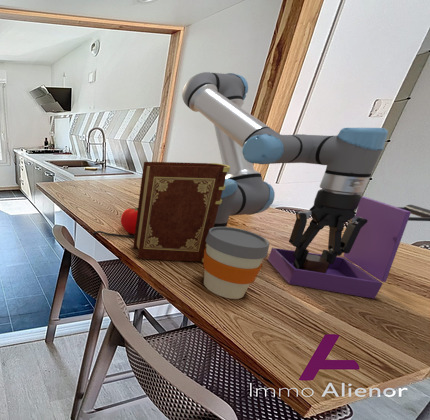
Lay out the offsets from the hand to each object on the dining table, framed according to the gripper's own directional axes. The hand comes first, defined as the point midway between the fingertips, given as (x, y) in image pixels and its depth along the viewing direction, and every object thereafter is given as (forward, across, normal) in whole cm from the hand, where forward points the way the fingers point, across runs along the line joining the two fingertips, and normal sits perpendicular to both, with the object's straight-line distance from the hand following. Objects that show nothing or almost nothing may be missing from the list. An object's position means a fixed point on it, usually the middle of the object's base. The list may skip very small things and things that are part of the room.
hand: (308, 270), depth 69 cm
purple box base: (+2, +2, 0) cm, 3 cm away
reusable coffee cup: (+2, -24, -15) cm, 28 cm away
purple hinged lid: (-12, +9, 0) cm, 15 cm away
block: (0, 0, 0) cm, 0 cm away
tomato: (+2, -48, +14) cm, 50 cm away
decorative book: (+2, -36, -1) cm, 36 cm away
